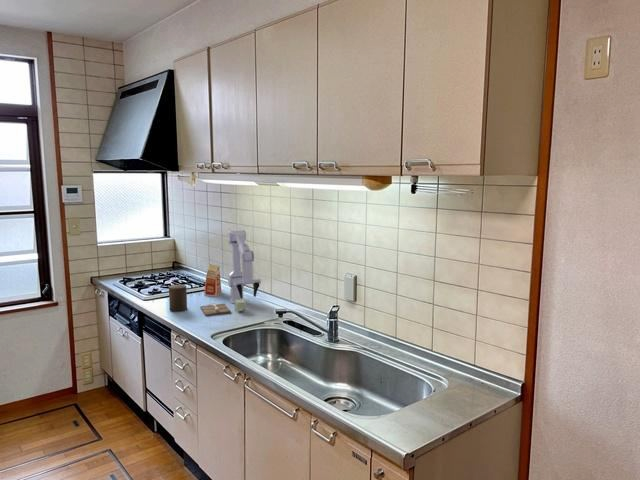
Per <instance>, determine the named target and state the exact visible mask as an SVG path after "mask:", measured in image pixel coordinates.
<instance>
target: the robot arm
mask: <svg viewBox="0 0 640 480" xmlns="http://www.w3.org/2000/svg"><path fill="white" fill-rule="evenodd" d="M246 240H247V232H246V231H245V230H244V229H243V230H229V231H228V232H227V242H228V245H230V246H231V256H232V259H231V260H232V271H231V272H230V273H229V274H228V279H227V282H228V287H229V288H230V298H228V300H229V301H230V303H231V304H235V300H241V299H244V288H245V286H246V285H253V297H254V298H255V297H256V296H257V292H258V289H259V287H260V284H262V280H261V279H259V278H258V279H257V278H256V279H255V278H254V275H253V273H254V270H253V269H254V268H253V266H254V265H253V263H254V261H255V256H254V251H253V250H251V249H250V247H249V244H248V243H246V242H245V241H246ZM241 269H242V270H241Z"/></svg>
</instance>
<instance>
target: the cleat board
mask: <svg viewBox="0 0 640 480" xmlns="http://www.w3.org/2000/svg"><path fill="white" fill-rule="evenodd" d="M200 310H201V312H203V313H202V314H204V317H209V316H210V317H211V316H218V315H226V314H227V315H228V314H231V313H232V312H231V310H230V309H229V307H228V306H227V305H226V304H225V303H219V304H216V303H215V302H214V303H211V304H209V305H202V306H201V305H200Z"/></svg>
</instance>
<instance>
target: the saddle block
mask: <svg viewBox="0 0 640 480" xmlns="http://www.w3.org/2000/svg"><path fill="white" fill-rule="evenodd" d="M240 310H241V311H243V313H247V302H246V300H245V299H244V298H243V299H241V300H235V303H234V311H235V312H236V313H237V314H240Z"/></svg>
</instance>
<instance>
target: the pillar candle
mask: <svg viewBox="0 0 640 480" xmlns="http://www.w3.org/2000/svg"><path fill="white" fill-rule="evenodd" d="M187 292H188V291H187V285H186V284H172V285H169V286H168V298H169V299H168V302H169V305H168V306H169V307H168V308H169V311H170V312H173V313H174V312H175V313H177V312H178V313H180V312H185V311H187V310H188V301H187V300H188V295H187Z"/></svg>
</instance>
